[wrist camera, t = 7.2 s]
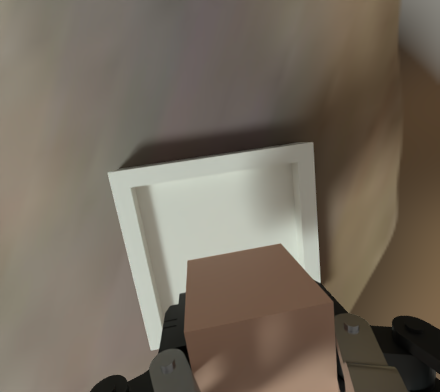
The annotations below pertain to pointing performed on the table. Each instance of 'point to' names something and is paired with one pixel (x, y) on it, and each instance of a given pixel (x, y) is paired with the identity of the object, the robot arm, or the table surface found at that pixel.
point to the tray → (213, 216)
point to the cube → (258, 324)
